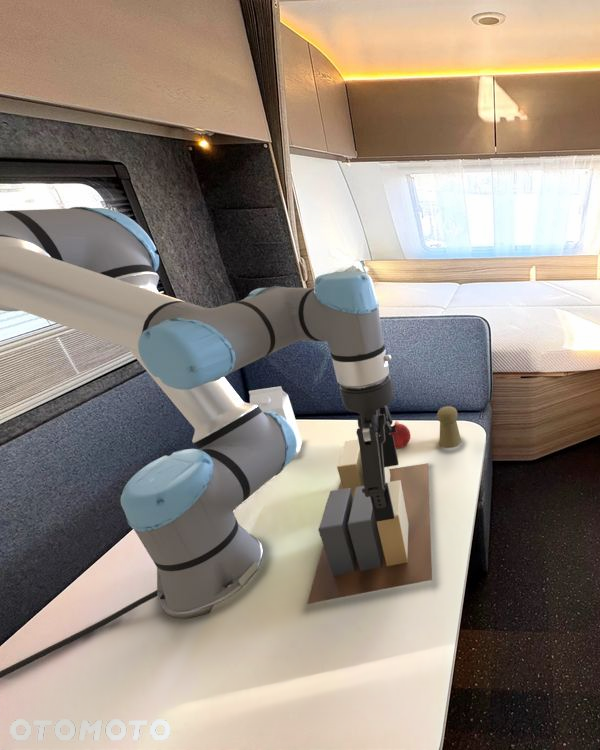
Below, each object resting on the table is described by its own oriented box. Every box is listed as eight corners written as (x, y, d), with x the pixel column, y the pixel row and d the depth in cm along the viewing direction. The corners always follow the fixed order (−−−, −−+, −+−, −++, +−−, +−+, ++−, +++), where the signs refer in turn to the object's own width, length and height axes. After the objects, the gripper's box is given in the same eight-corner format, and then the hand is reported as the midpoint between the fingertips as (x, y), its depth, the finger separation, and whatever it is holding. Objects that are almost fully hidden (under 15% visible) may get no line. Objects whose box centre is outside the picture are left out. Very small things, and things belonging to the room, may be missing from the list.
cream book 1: (348, 509, 81) (337, 467, 76) (354, 480, 89) (344, 441, 84) (366, 506, 81) (355, 464, 76) (370, 478, 89) (362, 438, 85)
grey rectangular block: (360, 571, 67) (347, 524, 62) (366, 530, 75) (355, 486, 70) (381, 567, 68) (370, 520, 63) (385, 527, 76) (375, 483, 71)
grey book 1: (333, 576, 66) (318, 529, 62) (342, 534, 74) (329, 490, 70) (354, 572, 67) (341, 525, 62) (361, 531, 75) (350, 487, 70)
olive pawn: (458, 452, 99) (454, 416, 94) (436, 450, 100) (431, 414, 95) (464, 439, 104) (461, 404, 100) (443, 437, 105) (439, 402, 101)
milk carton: (274, 447, 104) (252, 385, 96) (302, 442, 106) (283, 380, 98) (268, 463, 98) (244, 397, 90) (298, 457, 99) (278, 392, 91)
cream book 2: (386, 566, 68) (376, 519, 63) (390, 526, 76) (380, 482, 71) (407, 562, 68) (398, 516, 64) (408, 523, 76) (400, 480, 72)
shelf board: (308, 608, 62) (306, 603, 62) (343, 479, 91) (342, 475, 90) (432, 584, 66) (432, 579, 65) (428, 467, 94) (428, 463, 94)
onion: (416, 445, 103) (412, 419, 99) (401, 456, 98) (396, 430, 95) (401, 439, 106) (396, 413, 102) (385, 450, 101) (380, 424, 98)
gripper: (383, 417, 47) (408, 542, 56) (395, 347, 69) (411, 445, 78) (319, 426, 46) (355, 552, 55) (351, 352, 68) (373, 450, 77)
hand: (388, 489), depth 67 cm, fingers open, 13 cm apart
